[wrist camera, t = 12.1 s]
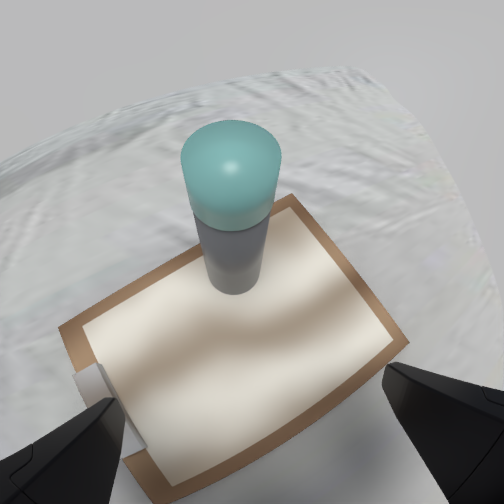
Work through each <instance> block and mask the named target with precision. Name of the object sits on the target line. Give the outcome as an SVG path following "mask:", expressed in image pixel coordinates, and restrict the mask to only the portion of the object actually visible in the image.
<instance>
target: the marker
mask: <svg viewBox="0 0 504 504" xmlns="http://www.w3.org/2000/svg"><path fill="white" fill-rule="evenodd" d="M281 158H282V156H281V149H280V146H279V144H278V142H277V140H276V139H275V138H274V137H273V135H272V134H270V133H269V132H268V131H267V130H265V129H264V128H262V127H260V126H258V125H256V124H253V123H250V122H245V121H238V120H225V121H219V122H215V123H211V124H208V125H206V126H204V127H202V128H200V129H199V130H197V131H196V132H194V133H193V134H192V135H191V136H190V137H189V138H188V139H187V141H186V142H185V144H184V146H183V148H182V151H181V165H182V169H183V174H184V179H185V183H186V188H187V192H188V197H189V201H190V205H191V208H192V210H193V214H194V218H195V223H196V227H197V231H198V236H199V240H200V244H201V248H202V252H203V257H204V261H205V265H206V269H207V273H208V277H209V280H210V282H211V283H212V285H213V286H214V287H215V288H216V289H217V290H219V291H220V292H222V293H225V294H228V295H239V294H243V293H245V292H247V291H249V290H250V289H251V288H252V287H253V286H254V285H255V284H256V282H257V281H258V278H259V274H260V269H261V263H262V258H263V252H264V247H265V241H266V236H267V230H268V224H269V219H270V213H271V208H272V206H273V203H274V198H275V192H276V187H277V181H278V176H279V170H280V164H281Z"/></svg>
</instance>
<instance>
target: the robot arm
mask: <svg viewBox="0 0 504 504" xmlns="http://www.w3.org/2000/svg"><path fill="white" fill-rule="evenodd" d="M382 387H383V390H384V392H385V394H386V396H387V398H388V401H389V403H390V405H391V407H392V409H393V411H394V413H395V415H396V417H397V419H398V421H399V422H400V424H401V426H402V427H403V429H404V430H405V432H406V434H407V435H408V437H409V438H410V440H411V441H412V443H413V445H414V446H415V448H416V449H417V451H418V453H419V454H420V456H421V458H422V459H423V461H424V462H425V464H426V466H427V467H428V469H429V471H430V472H431V474H432V475H433V477H434V479H435V480H436V482H437V484H438V485H439V487H440V489H441V490H442V492H443V494H444V495H445V497H446V499H447V500H448V502H449V504H504V391H501V390H497V389H492V388H488V387H485V386H482V387H481V386H479V385H475V384H472V383H468V382H464V381H461V380H457V379H453V378H450V377H446V376H443V375H439V374H436V373H432V372H429V371H426V370H422V369H419V368H416V367H412V366H409V365H406V364H403V363H399V362H393V363H390V364H387V365H386V367H385V371H384V375H383V379H382ZM125 420H126V419H125V413H124V411H123V409H122V407H121V405H120V403H119V401H118V399H117V398H115V397H105V398H103V399H101V400H100V401H98V402H97V403H95V404H94V405H92V406H91V407H89V408H88V409H86V410H85V411H83V412H82V413H80V414H78V415H77V416H75V417H74V418H72V419H71V420H69V421H67V422H66V423H64V424H63V425H61V426H60V427H58V428H56V429H55V430H53V431H52V432H50V433H48V434H47V435H45V436H43V437H42V438H40V439H39V440H37V441H35V442H34V443H33V444H30V445H28V446H27V447H25V448H23V449H21V450H20V451H18V452H16V453H14V454H13V455H11V456H9V457H7V458H5V459H3V460H1V461H0V504H109V501H110V497H111V492H112V488H113V484H114V480H115V476H116V472H117V468H118V464H119V460H120V456H121V450H122V443H123V435H124V428H125Z"/></svg>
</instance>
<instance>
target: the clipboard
mask: <svg viewBox="0 0 504 504" xmlns="http://www.w3.org/2000/svg"><path fill="white" fill-rule="evenodd" d="M58 329H59V331H60V334H61V337H62V339H63V342H64V345H65V347H66V350H67V352H68V355H69V357H70V359H71V362H72V364H73V367H74V369H75V371H76V374H74V375H72V376H73V379H74V381H75V383H76V385H77V387H78V390H79V392H80V394H81V396H82V398H83V400H84V402H85V404H86V406H87V408H89V407H91V406H92V405H94V404H95V403H97V402H98V401H100V400H101V399H103V398H105V397H115V398H117V399H118V401H119V403H120V405H121V407H122V409H123V411H124V413H125V419H126V420H125V428H124V435H123V443H122V450H121V456H120V459H122V460H123V461H124V463H125V464H126V466H127V467H128V469H129V470H130V472H131V473H132V475H133V476H134V478H135V479H136V481H137V482H138V483H139V485H140V486H141V488H142V489H143V490H144V492H145V493H146V495H147V496H148V497H149V499H150V500H151V501H152V503H153V504H169V503H171V502H173V501H176V500H178V499H181V498H183V497H185V496H187V495H190V494H192V493H194V492H196V491H198V490H200V489H203V488H205V487H207V486H209V485H211V484H213V483H215V482H217V481H219V480H221V479H223V478H225V477H226V476H228V475H230V474H232V473H234V472H236V471H238V470H240V469H241V468H243V467H245V466H247V465H248V464H250V463H252V462H254V461H255V460H257V459H259V458H260V457H262V456H264V455H265V454H267V453H269V452H270V451H272V450H274V449H275V448H277V447H278V446H280V445H282V444H283V443H285V442H286V441H288V440H289V439H291V438H292V437H294V436H295V435H297V434H298V433H300V432H301V431H303V430H304V429H306V428H307V427H308V426H310V425H311V424H313V423H314V422H315V421H317V420H318V419H320V418H321V417H322V416H324V415H325V414H326V413H328V412H329V411H330V410H332V409H333V408H334V407H336V406H337V405H338V404H340V403H341V402H342V401H343V400H345V399H346V398H347V397H349V396H350V395H351V394H352V393H353V392H355V391H356V390H357V389H358V388H360V387H361V386H362V385H363V384H364V383H366V382H367V381H368V380H369V379H370V378H371V377H373V376H374V375H375V374H376V373H377V372H378V371H379V370H381V369H382V368H383V367H384V366H385V365H386V364H387V363H388V362H389V361H391V360H392V359H393V358H394V357H395V356H396V355H397V354H398V353H399V352H400V351H401V350H402V349H403V348H404V347H405V346H406V345H407V344H408V343H410V342H409V341H408V340H407V338H406V337H405V335H404V334H403V333H402V331H401V330H400V328H399V327H398V326H397V324H396V323H395V322H394V320H393V319H392V317H391V316H390V315H389V313H388V312H387V311H386V309H385V308H384V307H383V305H382V304H381V303H380V301H379V300H378V299H377V297H376V296H375V295H374V293H373V292H372V291H371V289H370V288H369V287H368V285H367V284H366V283H365V282H364V280H363V279H362V278H361V276H360V275H359V274H358V273H357V271H356V270H355V269H354V267H353V266H352V265H351V264H350V262H349V261H348V260H347V259H346V257H345V256H344V255H343V254H342V252H341V251H340V250H339V249H338V247H337V246H336V245H335V244H334V242H333V241H332V240H331V239H330V238H329V236H328V235H327V234H326V233H325V232H324V230H323V229H322V228H321V227H320V226H319V224H318V223H317V222H316V221H315V220H314V218H313V217H312V216H311V215H310V214H309V212H308V211H307V210H306V209H305V208H304V207H303V205H302V204H301V203H300V202H299V201H298V200H297V199H296V197H295V196H294V195H293V194H292V193H291V194H289V195H287V196H285V197H284V198H282V199H280V200H278V201H276V202H274V203H273V206H272V208H271V213H270V219H269V224H268V230H267V236H266V241H265V247H264V252H263V258H262V263H261V269H260V274H259V278H258V281H257V282H256V284H255V285H254V286H253V287H252V288H251V289H250V290H249V291H247V292H245V293H243V294H239V295H228V294H225V293H222V292H220V291H219V290H217V289H216V288H215V287H214V286H213V285H212V283H211V282H210V280H209V277H208V273H207V269H206V265H205V261H204V257H203V252H202V248H201V244H200V243H199V244H198V245H196V246H194V247H192V248H191V249H189V250H187V251H185V252H184V253H182V254H180V255H178V256H177V257H175V258H173V259H171V260H170V261H168V262H166V263H164V264H163V265H161V266H159V267H157V268H156V269H154V270H152V271H151V272H149V273H147V274H145V275H144V276H142V277H140V278H139V279H137V280H135V281H133V282H132V283H130V284H128V285H127V286H125V287H123V288H122V289H120V290H118V291H117V292H115V293H113V294H112V295H110V296H108V297H107V298H105V299H103V300H102V301H100V302H98V303H97V304H95V305H93V306H92V307H90V308H88V309H87V310H85V311H83V312H82V313H80V314H79V315H77V316H75V317H74V318H72V319H70V320H69V321H67V322H66V323H64V324H62V325H61V326H59V327H58Z"/></svg>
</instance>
